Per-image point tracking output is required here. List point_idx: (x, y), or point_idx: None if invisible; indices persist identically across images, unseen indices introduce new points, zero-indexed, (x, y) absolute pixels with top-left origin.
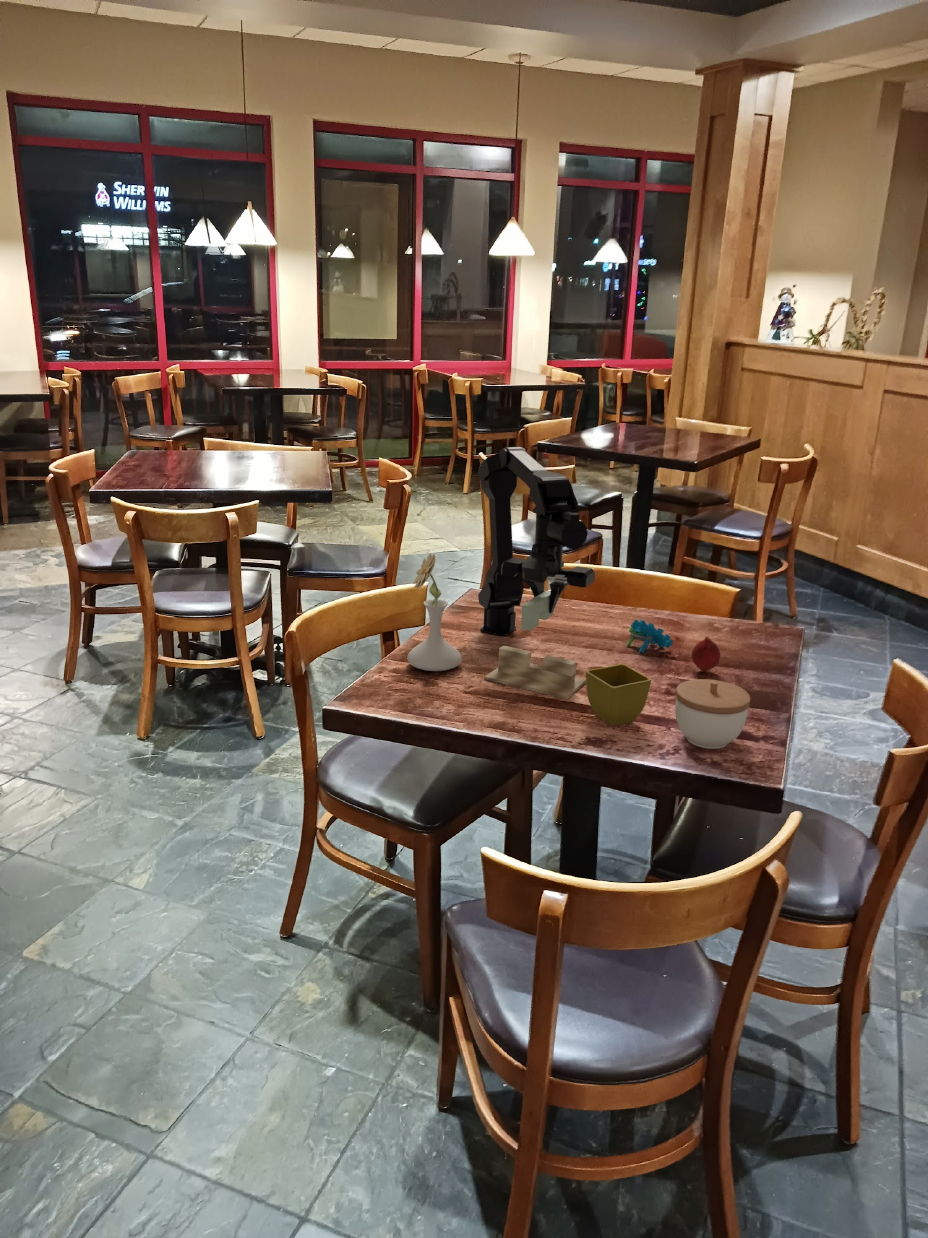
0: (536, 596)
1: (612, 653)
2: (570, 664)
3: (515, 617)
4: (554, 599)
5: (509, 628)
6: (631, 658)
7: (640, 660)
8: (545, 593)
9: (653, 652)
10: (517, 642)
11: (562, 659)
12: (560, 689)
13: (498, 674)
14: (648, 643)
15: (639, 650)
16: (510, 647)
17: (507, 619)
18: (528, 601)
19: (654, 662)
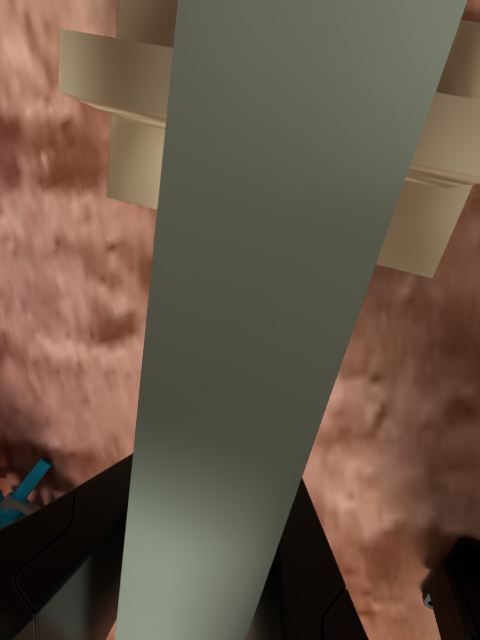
0: (283, 508)
1: (108, 447)
2: (69, 32)
3: (440, 634)
4: (71, 490)
5: (450, 573)
6: (57, 422)
7: (35, 414)
8: (188, 628)
9: (27, 469)
10: (403, 490)
11: (121, 87)
12: (161, 40)
13: (461, 96)
14: (18, 487)
15: (46, 465)
16: (445, 164)
17: (476, 614)
18: (414, 104)
19: (4, 407)
